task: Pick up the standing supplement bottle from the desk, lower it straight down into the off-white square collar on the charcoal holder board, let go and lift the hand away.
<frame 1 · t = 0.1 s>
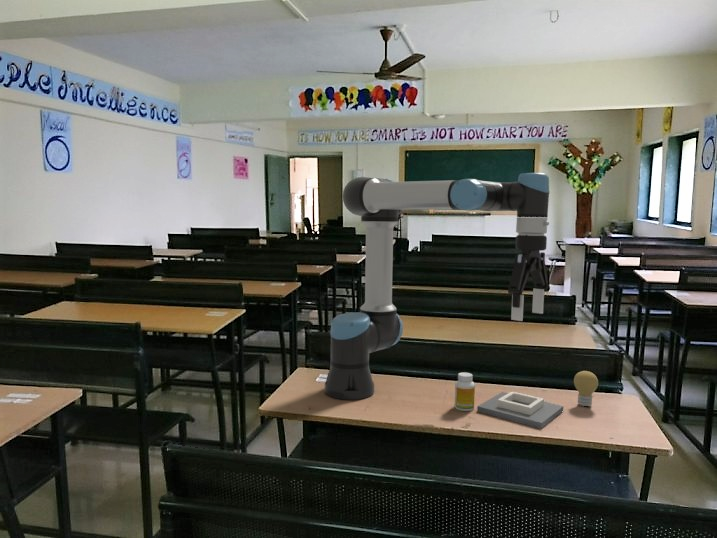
hand: (527, 316, 139), 28 cm above the table, tool pointing down, fingers open, 13 cm apart
holder board: (520, 411, 149), on the table
light bulb: (584, 406, 154), on the table
supplement bottle: (464, 408, 151), on the table
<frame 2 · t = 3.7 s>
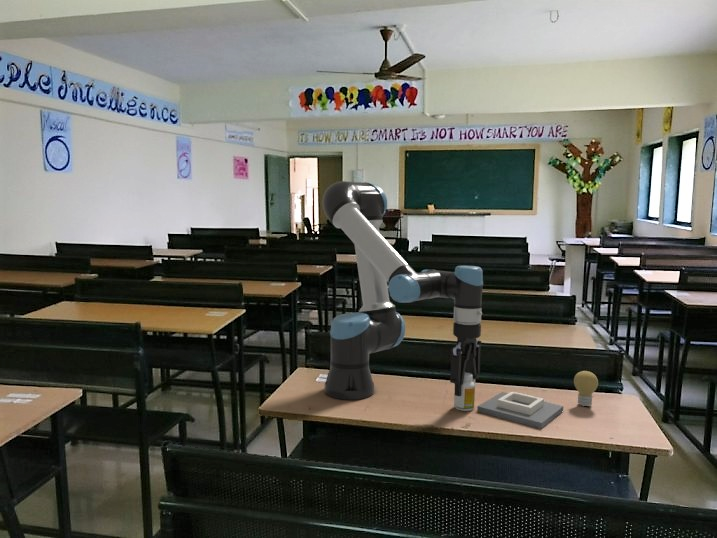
hand: (464, 403, 151), 1 cm above the table, tool pointing down, fingers closed on supplement bottle, 5 cm apart
supplement bottle: (464, 408, 151), on the table, touching gripper
everything else where it was.
when the fingers open (4 cm above the table, at t = 8.3 s): supplement bottle drops 1 cm, resting on holder board.
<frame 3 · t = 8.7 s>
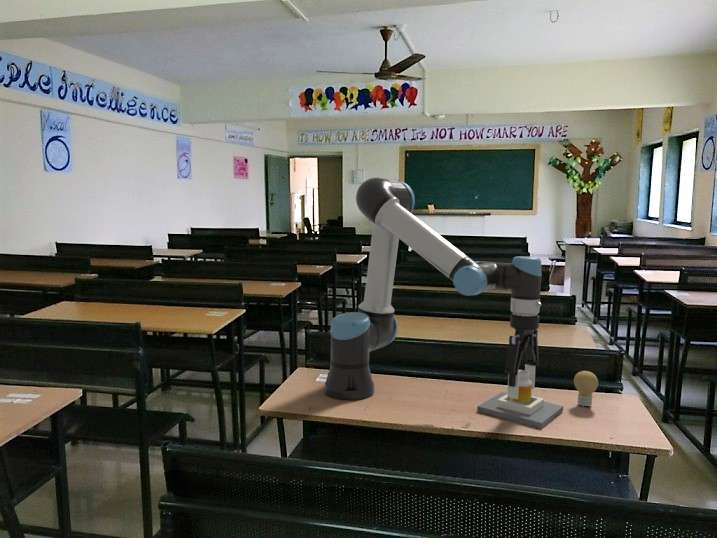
hand: (521, 392, 148), 5 cm above the table, tool pointing down, fingers open, 10 cm apart
supplement bottle: (520, 406, 148), point 1 cm above the table, touching holder board
everything else where it was.
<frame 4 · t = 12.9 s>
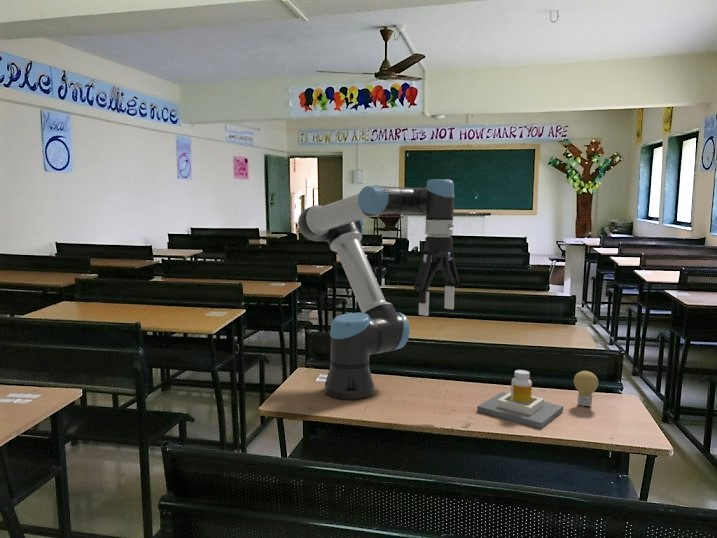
hand: (436, 311, 151), 27 cm above the table, tool pointing down, fingers open, 13 cm apart
nothing on the table moved.
at the end: supplement bottle 0.0 cm off-centre on the holder board, point 1.3 cm above the holder board's base; supplement bottle tilted 0°; the gripper is holding nothing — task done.
